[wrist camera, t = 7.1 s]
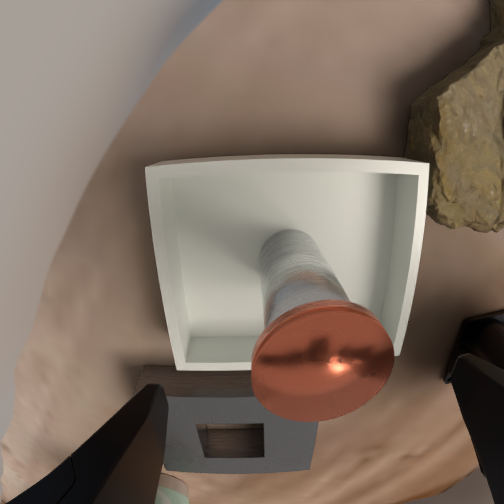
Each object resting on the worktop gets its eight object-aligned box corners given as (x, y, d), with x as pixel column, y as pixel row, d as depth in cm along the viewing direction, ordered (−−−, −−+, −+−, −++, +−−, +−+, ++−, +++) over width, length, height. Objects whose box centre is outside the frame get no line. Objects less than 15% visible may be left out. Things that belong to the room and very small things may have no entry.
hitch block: (315, 362, 21) (323, 392, 18) (305, 443, 24) (309, 469, 22) (144, 365, 21) (133, 394, 18) (171, 444, 24) (166, 470, 22)
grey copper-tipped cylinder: (330, 219, 17) (407, 307, 8) (326, 292, 18) (378, 412, 10) (247, 221, 17) (248, 319, 8) (250, 296, 18) (253, 425, 10)
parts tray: (401, 157, 16) (429, 163, 13) (382, 328, 20) (399, 355, 17) (162, 161, 16) (144, 167, 13) (185, 339, 20) (176, 370, 17)
